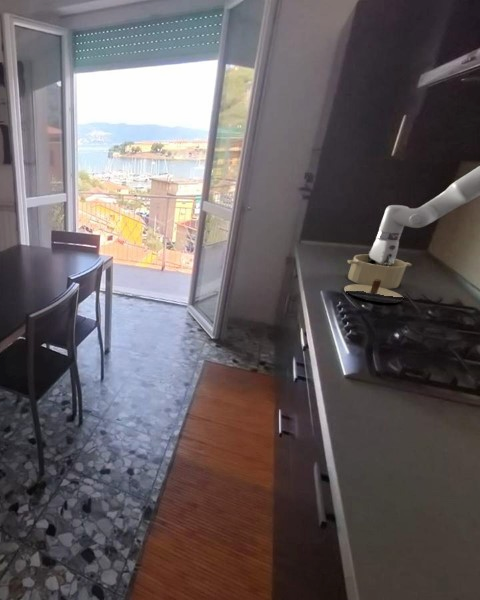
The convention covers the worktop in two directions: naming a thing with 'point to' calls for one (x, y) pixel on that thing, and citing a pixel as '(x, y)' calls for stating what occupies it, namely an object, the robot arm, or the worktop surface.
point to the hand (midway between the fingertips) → (374, 274)
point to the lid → (372, 289)
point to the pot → (376, 272)
